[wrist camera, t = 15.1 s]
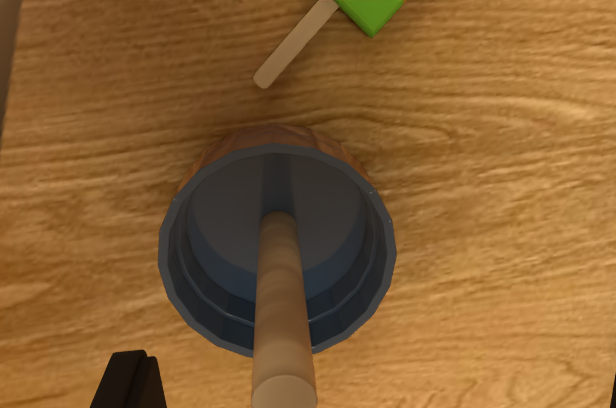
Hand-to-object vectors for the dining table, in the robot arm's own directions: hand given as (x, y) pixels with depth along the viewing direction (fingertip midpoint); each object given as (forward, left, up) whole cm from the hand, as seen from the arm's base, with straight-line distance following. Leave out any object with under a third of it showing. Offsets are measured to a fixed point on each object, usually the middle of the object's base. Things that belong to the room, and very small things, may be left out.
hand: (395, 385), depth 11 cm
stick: (0, -6, -14) cm, 15 cm away
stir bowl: (0, -6, -22) cm, 22 cm away
